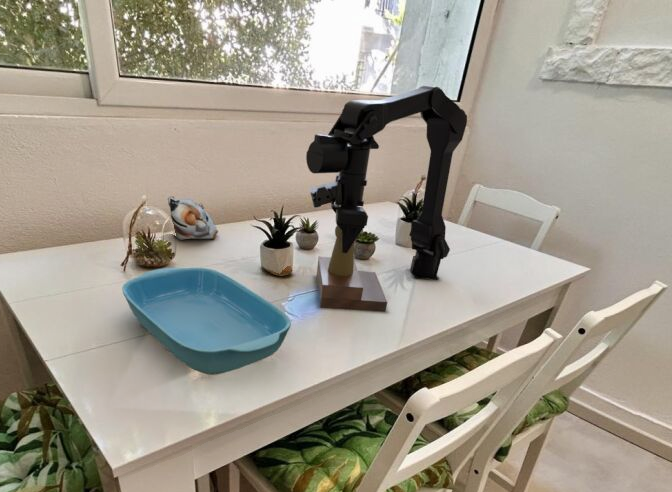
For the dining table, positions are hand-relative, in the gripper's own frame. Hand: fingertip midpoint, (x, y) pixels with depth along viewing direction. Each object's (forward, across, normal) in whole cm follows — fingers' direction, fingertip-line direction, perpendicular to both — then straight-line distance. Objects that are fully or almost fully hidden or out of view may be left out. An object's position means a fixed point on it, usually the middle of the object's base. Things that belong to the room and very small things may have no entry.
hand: (342, 245), depth 105 cm
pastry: (+12, -12, -14) cm, 22 cm away
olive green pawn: (+6, 0, 0) cm, 6 cm away
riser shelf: (+12, 0, +3) cm, 12 cm away
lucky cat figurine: (+12, -33, -39) cm, 53 cm away
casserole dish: (+12, +24, -28) cm, 39 cm away
